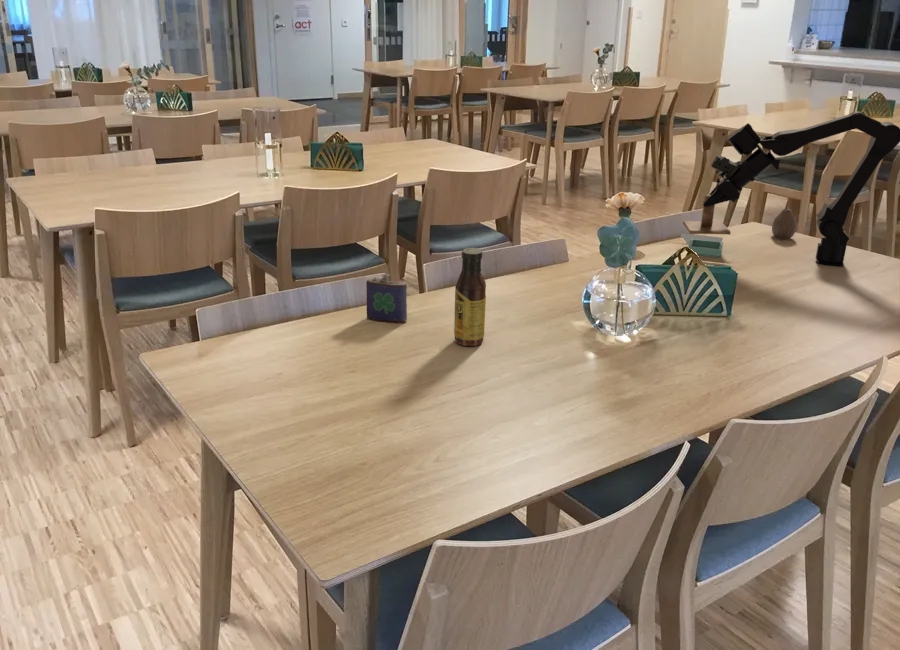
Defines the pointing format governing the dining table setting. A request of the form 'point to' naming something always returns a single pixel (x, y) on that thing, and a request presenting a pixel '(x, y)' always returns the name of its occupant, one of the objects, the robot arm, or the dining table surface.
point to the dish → (706, 247)
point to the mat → (689, 236)
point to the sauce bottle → (470, 300)
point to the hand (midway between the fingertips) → (704, 204)
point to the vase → (784, 225)
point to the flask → (386, 300)
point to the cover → (706, 223)
